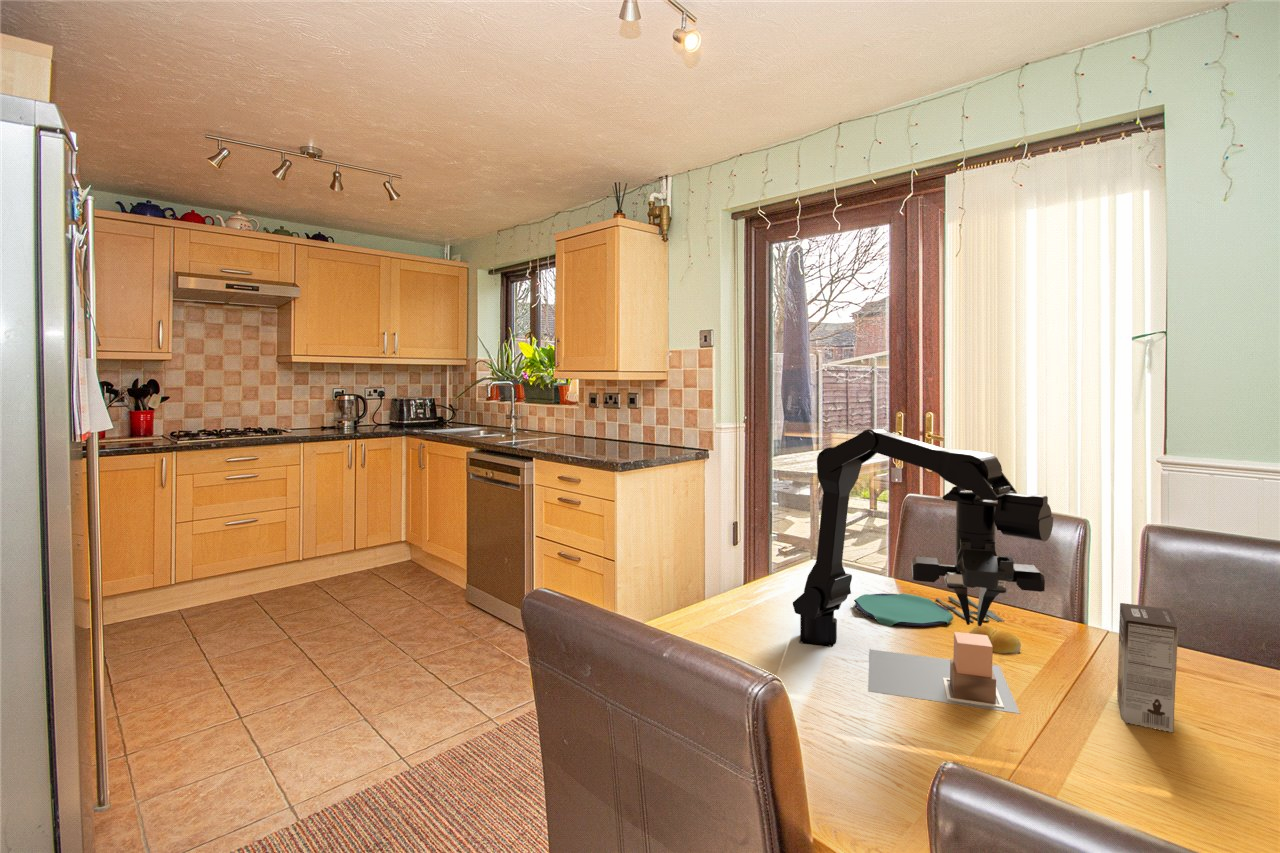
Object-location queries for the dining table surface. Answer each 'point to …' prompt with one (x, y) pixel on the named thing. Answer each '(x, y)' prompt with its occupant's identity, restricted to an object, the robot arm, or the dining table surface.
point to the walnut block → (972, 686)
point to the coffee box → (1147, 666)
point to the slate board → (927, 680)
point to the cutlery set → (911, 609)
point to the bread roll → (999, 639)
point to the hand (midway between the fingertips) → (973, 624)
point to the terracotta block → (973, 654)
